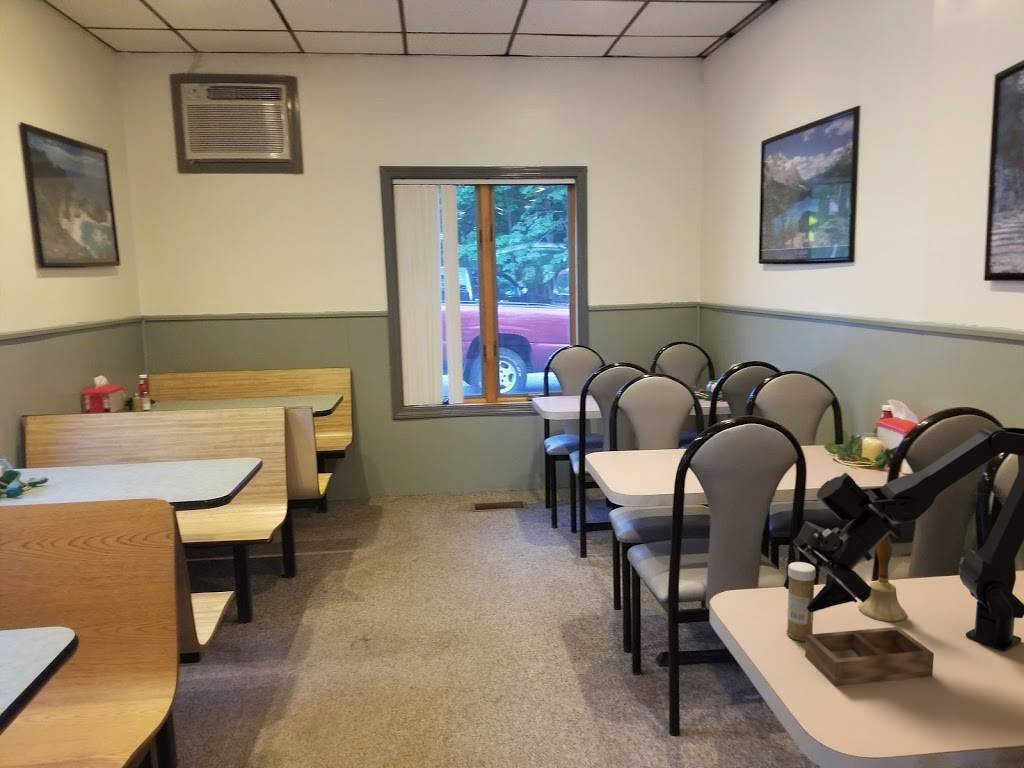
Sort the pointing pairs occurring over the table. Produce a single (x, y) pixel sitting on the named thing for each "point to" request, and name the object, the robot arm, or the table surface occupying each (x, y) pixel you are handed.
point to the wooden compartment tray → (868, 656)
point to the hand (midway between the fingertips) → (796, 598)
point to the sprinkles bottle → (800, 600)
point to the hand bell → (883, 590)
